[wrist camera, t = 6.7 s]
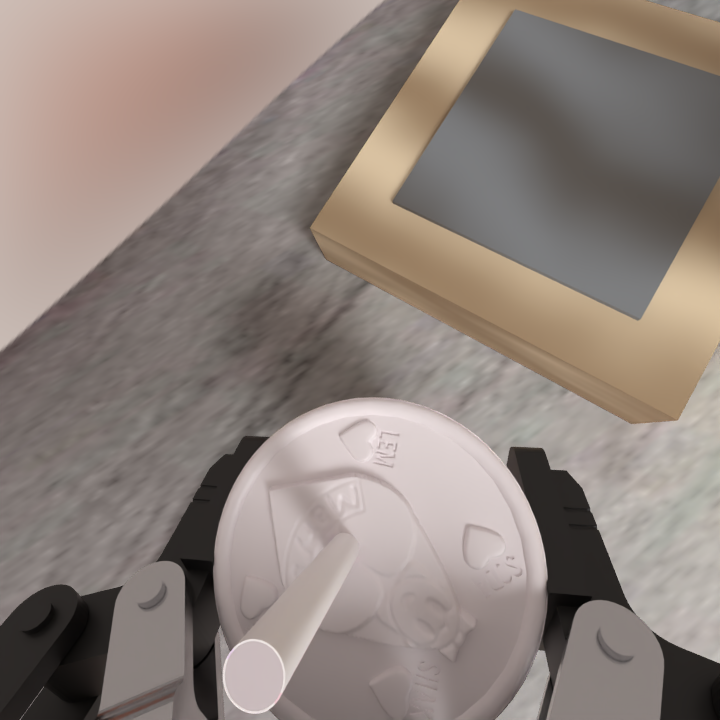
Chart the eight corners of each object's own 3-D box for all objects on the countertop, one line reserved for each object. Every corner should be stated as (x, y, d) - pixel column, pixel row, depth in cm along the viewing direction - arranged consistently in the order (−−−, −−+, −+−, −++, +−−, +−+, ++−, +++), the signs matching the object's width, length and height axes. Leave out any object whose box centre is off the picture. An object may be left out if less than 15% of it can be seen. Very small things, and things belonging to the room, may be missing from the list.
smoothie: (377, 391, 18) (240, 228, 4) (508, 477, 16) (930, 646, 3) (294, 516, 17) (-165, 783, 4) (422, 616, 16) (433, 1663, 2)
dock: (480, 21, 21) (490, -52, 18) (791, 127, 18) (871, 60, 14) (326, 259, 20) (308, 225, 17) (631, 423, 16) (681, 419, 13)
